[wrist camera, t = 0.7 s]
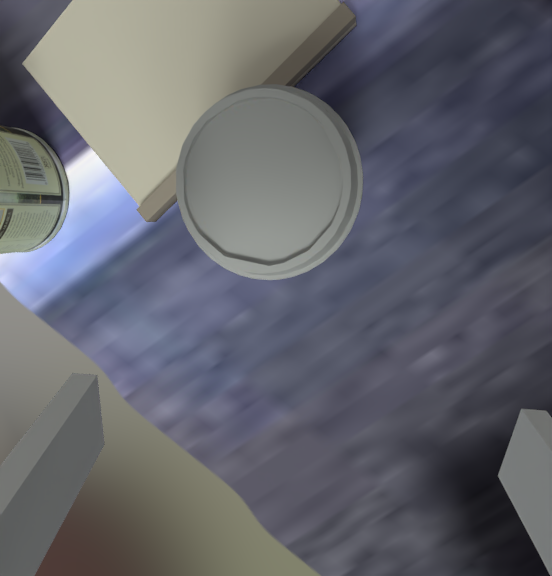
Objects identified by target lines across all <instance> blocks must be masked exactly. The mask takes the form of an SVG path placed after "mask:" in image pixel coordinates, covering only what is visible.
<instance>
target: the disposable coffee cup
mask: <svg viewBox="0 0 552 576" xmlns="http://www.w3.org/2000/svg"><path fill="white" fill-rule="evenodd" d="M362 188H363V172H362V165H361V159H360V154H359V151H358V148H357V145H356V142H355V140H354V138H353V136H352V135H351V133H350V131H349V129H348V127H347V125H346V124H345V123H344V121H343V120H342V119H341V118H340V116H339V115H338V114H337V113H336V112H335V111H334V110H333V109H332V108H331V107H330V106H329V105H328V104H326V103H325V102H323V101H322V100H320V99H319V98H318V97H316V96H314V95H312V94H310V93H308V92H306V91H303V90H301V89H298V88H295V87H291V86H284V85H278V84H267V85H257V86H253V87H248V88H244V89H240V90H238V91H236V92H234V93H232V94H229V95H227V96H226V97H224V98H223V99H221V100H220V101H218V102H217V103H215V104H214V105H213V106H212V107H210V108H209V109H208V110H207V111H206V112H204V114H203V115H202V116H201V117H200V118H199V119H198V120H197V122H196V123H195V124H194V125H193V127H192V128H191V130H190V132H189V134H188V136H187V137H186V139H185V141H184V143H183V145H182V148H181V152H180V156H179V159H178V163H177V167H176V196H177V200H178V204H179V207H180V211H181V215H182V218H183V221H184V222H185V224H186V227H187V229H188V230H189V232H190V233H191V235H192V237H193V238H194V240H195V241H196V243H197V244H198V246H199V247H200V248H201V249H202V250H203V251H204V252H205V253H206V254H207V255H208V256H209V257H210V258H211V259H212V260H214V261H215V262H216V263H218V264H219V265H221V266H222V267H224V268H225V269H227V270H229V271H232V272H234V273H236V274H238V275H242V276H245V277H249V278H252V279H263V280H278V279H284V278H289V277H293V276H296V275H299V274H302V273H304V272H307V271H309V270H311V269H312V268H314V267H316V266H317V265H319V264H320V263H322V262H324V261H325V260H326V259H327V258H328V257H329V256H330V255H331V254H332V253H334V252H335V251H336V250H337V249H338V248H339V246H340V245H341V244H342V242H343V241H344V239H345V238H346V236H347V235H348V234H349V232H350V230H351V228H352V226H353V224H354V221H355V219H356V217H357V214H358V211H359V208H360V203H361V198H362Z"/></svg>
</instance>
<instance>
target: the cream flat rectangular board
mask: <svg viewBox="0 0 552 576" xmlns="http://www.w3.org/2000/svg"><path fill="white" fill-rule="evenodd" d="M355 26H356V16H355V15H354V14H353V13H352V11H351V10H350V9H349V8H348V7H347V5H346V4H345V3H344V2H343V3H342V4H341V3H340V2H339V1H338V0H73V1H72V2H71V3H70V4H69V6H68V7H67V8H66V9H65V11H64V12H63V13H62V14H61V16H60V17H59V18H58V19H57V21H56V22H55V23H54V24H53V26H52V27H51V28H50V29H49V31H48V32H47V33H46V34H45V36H44V37H43V38H42V39H41V41H40V42H39V43H38V45H37V46H36V47H35V48H34V50H33V51H32V52H31V53H30V55H29V56H28V57H27V58H26V60H25V61H24V62H23V63H22V64H23V65H24V66H25V68H26V69H27V70H28V71H29V72H30V74H31V75H32V76H33V77H34V79H35V80H36V81H37V82H38V83H39V85H40V86H41V87H42V88H43V89H44V91H45V92H46V93H47V94H48V96H49V97H50V98H51V99H52V100H53V102H54V103H55V104H56V105H57V107H58V108H59V109H60V110H61V111H62V113H63V114H64V115H65V116H66V117H67V119H68V120H69V121H70V122H71V124H72V125H73V126H74V127H75V128H76V130H77V131H78V132H79V133H80V134H81V136H82V137H83V138H84V139H85V141H86V142H87V143H88V144H89V145H90V147H91V148H92V149H93V150H94V152H95V153H96V154H97V155H98V156H99V158H100V159H101V160H102V161H103V162H104V164H105V165H106V166H107V167H108V169H109V170H110V171H111V172H112V173H113V175H114V176H115V177H116V178H117V179H118V181H119V182H120V183H121V184H122V186H123V187H124V188H125V189H126V190H127V192H128V193H129V194H130V195H131V197H132V198H133V199H134V200H135V201H136V203H137V204H138V205H139V206H140V207H139V208H138V209H137V211H138V212H139V213H140V215H141V216H142V217H143V218H144V219H145V221H146V222H156V221H157V220H158V219H159V218H160V217H161V216H162V215H163V214H164V213H165V212H166V211H167V210H168V209H169V208H170V207H171V206H172V205H173V204H174V203H175V202H176V201H177V196H176V167H177V163H178V159H179V156H180V152H181V148H182V145H183V143H184V141H185V139H186V137H187V136H188V134H189V132H190V130H191V128H192V127H193V125H194V124H195V123H196V122H197V120H198V119H199V118H200V117H201V116H202V115H203V114H204V112H206V111H207V110H208V109H209V108H210V107H212V106H213V105H214V104H215V103H217V102H218V101H220V100H221V99H223V98H224V97H226V96H227V95H229V94H232V93H234V92H236V91H238V90H240V89H244V88H248V87H253V86H257V85H267V84H278V85H284V86H291V87H294V86H295V85H296V84H297V83H298V82H299V81H300V80H301V79H302V78H303V77H304V76H305V75H306V74H307V73H308V72H309V71H310V70H311V69H312V68H314V67H315V66H316V65H317V64H318V63H319V62H320V61H321V60H322V59H323V58H324V57H325V56H326V55H327V54H328V53H329V52H330V51H331V50H332V49H333V48H334V47H335V46H336V45H337V44H338V43H339V42H340V41H341V40H342V39H343V38H344V37H345V36H346V35H347V34H348V33H349V32H350V31H351V30H352V29H353V28H354V27H355Z"/></svg>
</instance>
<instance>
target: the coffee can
mask: <svg viewBox="0 0 552 576" xmlns="http://www.w3.org/2000/svg"><path fill="white" fill-rule="evenodd" d="M68 202H69V190H68V182H67V178H66V175H65V172H64V169H63V166H62V164H61V162H60V160H59V158H58V157H57V155H56V154H55V152H54V151H53V150H52V148H51V147H50V146H49V145H48V144H47V143H46V142H45V141H44V140H43V139H41V138H40V137H38V136H37V135H35V134H33V133H31V132H29V131H27V130H24V129H20V128H12V127H7V126H2V125H0V254H3V253H12V252H30V251H33V250H36V249H39V248H41V247H43V246H44V245H46V244H47V243H48V242H50V241H51V240H52V239H53V238H54V237H55V235H56V234H57V232H58V231H59V230H60V229H61V227H62V224H63V221H64V219H65V217H66V213H67V209H68Z"/></svg>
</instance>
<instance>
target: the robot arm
mask: <svg viewBox="0 0 552 576" xmlns="http://www.w3.org/2000/svg"><path fill="white" fill-rule="evenodd" d="M103 446H104V435H103V426H102V416H101V407H100V397H99V387H98V378H97V375H90V374H78V373H72V375H71V376H70V377H69V379H68V380H67V381H66V382H65V384H64V385H63V386H62V387H61V389H60V390H59V391H58V393H57V394H56V395H55V396H54V398H53V399H52V400H51V401H50V403H49V404H48V405H47V407H46V408H45V409H44V410H43V412H42V413H41V414H40V415H39V417H38V418H37V419H36V421H35V422H34V423H33V424H32V426H31V427H30V428H29V430H28V431H27V432H26V433H25V435H24V436H23V437H22V439H21V440H20V441H19V442H18V444H17V445H16V446H15V447H14V449H13V450H12V451H11V453H10V454H9V455H8V456H7V458H6V459H5V460H4V462H3V463H2V464H1V466H0V576H34V575H35V573H36V571H37V569H38V567H39V566H40V564H41V562H42V560H43V558H44V556H45V554H46V553H47V550H48V549H49V547H50V545H51V543H52V541H53V540H54V538H55V536H56V534H57V532H58V530H59V528H60V526H61V524H62V523H63V521H64V519H65V517H66V515H67V513H68V511H69V510H70V508H71V506H72V504H73V502H74V500H75V498H76V496H77V495H78V493H79V491H80V489H81V487H82V485H83V483H84V482H85V480H86V478H87V476H88V474H89V472H90V470H91V468H92V467H93V465H94V463H95V461H96V459H97V457H98V455H99V453H100V452H101V450H102V448H103ZM498 477H499V479H500V481H501V483H502V485H503V487H504V489H505V491H506V492H507V494H508V496H509V498H510V500H511V502H512V504H513V506H514V508H515V509H516V511H517V513H518V515H519V517H520V519H521V521H522V523H523V525H524V527H525V528H526V530H527V532H528V534H529V536H530V538H531V540H532V542H533V544H534V546H535V547H536V549H537V551H538V553H539V555H540V557H541V559H542V561H543V563H544V564H545V566H546V568H547V570H548V572H549V574H550V576H552V417H551V416H550V415H549V414H548V412H547V411H544V410H531V409H521V411H520V414H519V417H518V420H517V422H516V425H515V428H514V431H513V434H512V437H511V440H510V442H509V445H508V448H507V451H506V454H505V457H504V460H503V462H502V465H501V468H500V471H499V474H498Z"/></svg>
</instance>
